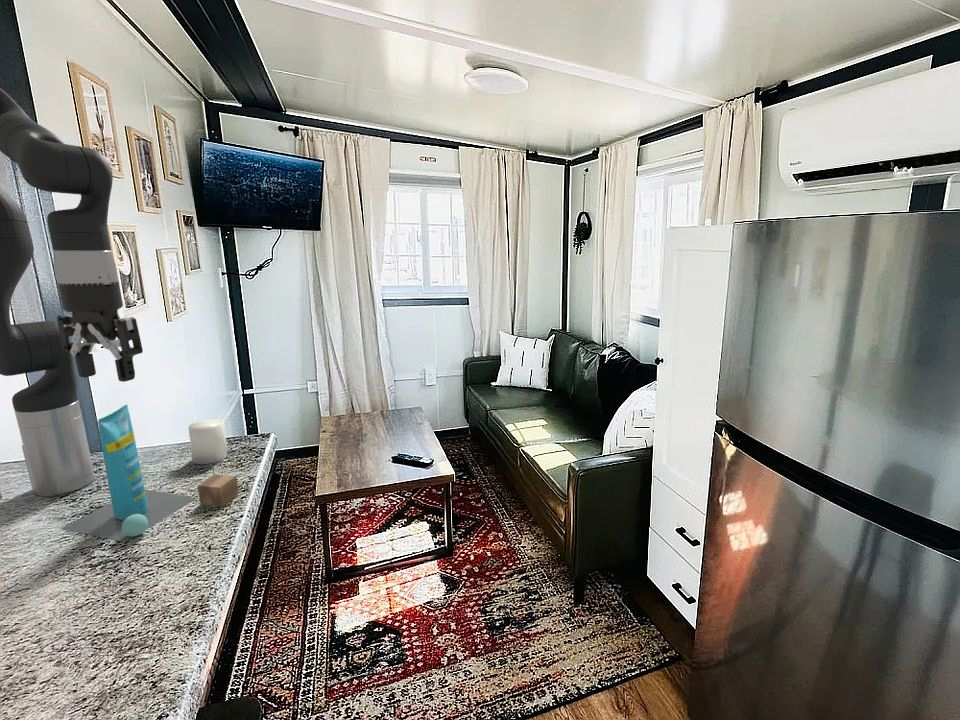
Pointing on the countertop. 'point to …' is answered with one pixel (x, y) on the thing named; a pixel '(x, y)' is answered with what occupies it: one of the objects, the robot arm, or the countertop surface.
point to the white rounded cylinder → (208, 441)
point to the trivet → (111, 528)
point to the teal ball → (134, 525)
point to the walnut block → (218, 490)
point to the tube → (122, 464)
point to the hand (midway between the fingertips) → (107, 378)
